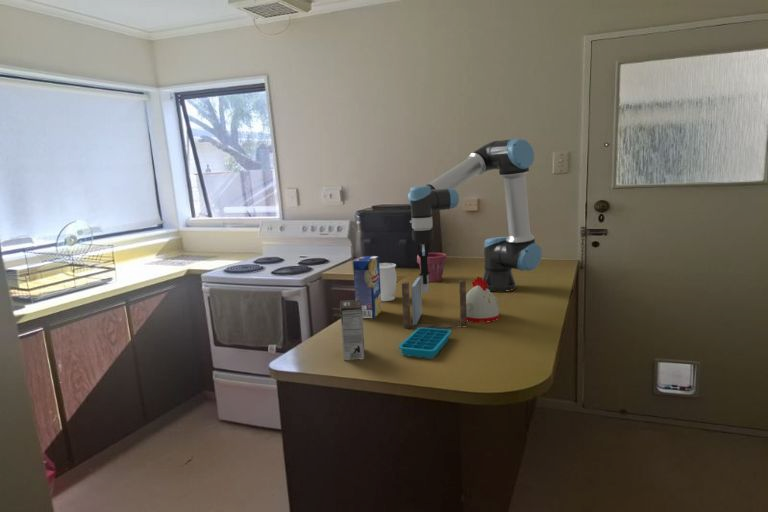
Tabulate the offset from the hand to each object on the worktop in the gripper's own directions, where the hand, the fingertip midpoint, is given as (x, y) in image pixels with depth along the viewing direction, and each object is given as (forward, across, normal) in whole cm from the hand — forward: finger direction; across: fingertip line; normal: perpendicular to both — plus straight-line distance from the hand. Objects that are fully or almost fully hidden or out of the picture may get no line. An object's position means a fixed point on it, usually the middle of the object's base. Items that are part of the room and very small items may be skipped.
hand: (425, 291), depth 188 cm
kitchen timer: (+10, +2, +19) cm, 22 cm away
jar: (+10, -27, -17) cm, 34 cm away
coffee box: (+9, +38, -23) cm, 45 cm away
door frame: (+9, +12, +2) cm, 16 cm away
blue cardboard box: (+9, -4, -22) cm, 24 cm away
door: (+9, +4, -4) cm, 11 cm away
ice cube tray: (+10, +32, -1) cm, 34 cm away
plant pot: (+11, -62, +3) cm, 63 cm away
